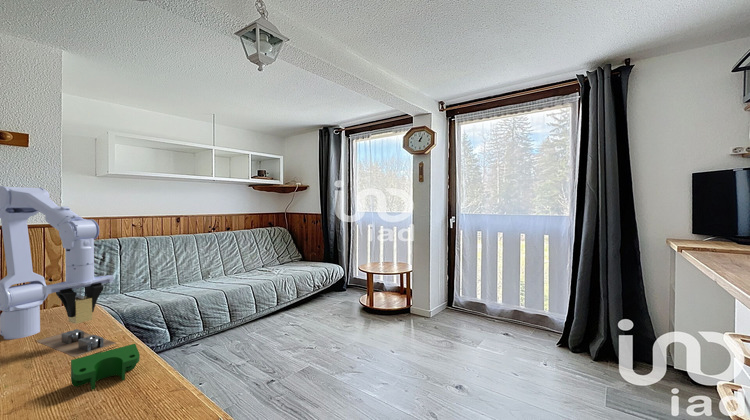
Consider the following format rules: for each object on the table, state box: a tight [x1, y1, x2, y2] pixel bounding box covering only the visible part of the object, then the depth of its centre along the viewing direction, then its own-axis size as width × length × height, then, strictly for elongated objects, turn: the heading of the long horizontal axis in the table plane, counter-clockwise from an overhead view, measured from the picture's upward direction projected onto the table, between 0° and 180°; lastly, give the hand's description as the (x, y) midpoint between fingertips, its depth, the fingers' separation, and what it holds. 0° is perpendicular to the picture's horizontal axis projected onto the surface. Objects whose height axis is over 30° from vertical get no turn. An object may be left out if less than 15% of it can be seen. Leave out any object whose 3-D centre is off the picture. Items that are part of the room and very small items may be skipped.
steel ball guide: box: [60, 328, 105, 353], centre depth 87 cm, size 14×3×2 cm, turn 65°
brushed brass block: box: [68, 295, 93, 325], centre depth 87 cm, size 4×4×7 cm
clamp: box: [70, 343, 141, 391], centre depth 71 cm, size 12×6×9 cm, turn 131°
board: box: [35, 331, 118, 358], centre depth 89 cm, size 22×9×1 cm, turn 65°
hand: (80, 314), depth 87 cm, fingers closed on brushed brass block, 3 cm apart
